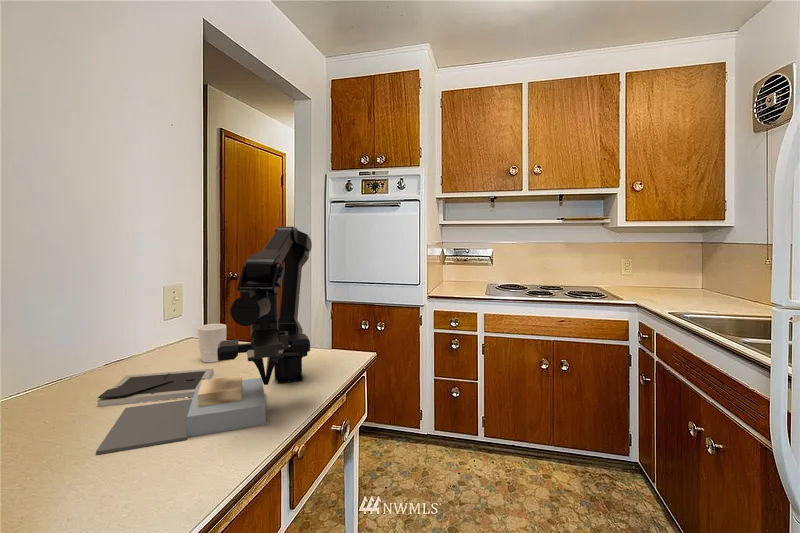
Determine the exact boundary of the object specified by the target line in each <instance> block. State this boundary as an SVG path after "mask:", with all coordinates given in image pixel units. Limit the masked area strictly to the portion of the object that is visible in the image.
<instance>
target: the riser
mask: <svg viewBox="0 0 800 533" xmlns="http://www.w3.org/2000/svg"><path fill="white" fill-rule="evenodd" d="M199 389H200V385H197V387H196V390H195V393H194V396H193V398H191V399H192V402H191V406H190V409H189V412H188V415H187V431H188V438H191V437H196V436H197V437H199V436H203V435H209V434H217V433H220V432H222V433H223V432H228V431H233V430H240V429H246V428H252V427H259V426H263V425H264V426H265V425H267V422H266V420H267V419H266V418H267V417H266V414H267V412H266V399H265V389H264V383H263V381H262V378H261V377H257V378H248V379H247V378H246V379H242V401H236V402H229V403H221V404H214V405H207V406H200V407H198V392H199Z"/></svg>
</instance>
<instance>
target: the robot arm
mask: <svg viewBox="0 0 800 533" xmlns="http://www.w3.org/2000/svg"><path fill="white" fill-rule="evenodd" d="M311 251H312V239H311V238H310V236H309V235H308V234H307V233H305V232H303V231H300V230H299V229H298V228H297V227H294V226H278V227H277V226H276V227H275V230H274V234H273V235H272V237H271V238H270V240H269V241H267V244H266V245H265V247H264V248H263V249H262V250H261V251H259V252H256V253H252V255H250V256H249V257H248V258H247V259H246V261H245V262H244V264H243V265H242V269H241V273H240V276H239V280H238V284H237V288H236V291H237V292H239V297H238V298H236V299H235V300H234V301H233V302H232V304H231V307H230V310H229V312H230V317H231V319H232V320H233V321H234V322H235V323H236V324H237V325H239V326H243V327H250V342H249V343H239V339H231V340H229V339H228V340H227V339H226V341H221V342H220V343H219V345H218V350H217V355H218V361H217V362H223V361H231V360H232V361H233V360H235V359H236V358H237V357H238V356H239V354H242V353H243V354H244V353H246V355H247V362H253V363H254V365H255V366H256V368H257V370H258V373H259V375H260V378H262V381H263V386H268V385H269V383H270V381H271V380H270V379H271V378H272V374H274V380H276V383H277V384H285V383H286V384H287V383H293V382H300V381H303V380H304V377H303V358H304V357H307V356H308V353H309V352H310V351H311V341H310V339H309V336H307V334H305V333H304V332H303V331H304V330H303V328H302V326H301V323H300V322H299V319H298V317H299V316H298V315H299V307H300V305H299V304H300V292H301V281H302V269H303V266H305V264H306V263H307V262H308V260H309V257H310V252H311ZM283 263H284V265H283ZM281 285H282V287H281ZM280 287H281V299H280V307H279V288H280ZM279 308H280V309H279ZM264 358H267V359H266V360H267V361H266V367H265V365H264V364H265V363H264ZM265 368H266V369H265ZM273 370H274V371H273Z"/></svg>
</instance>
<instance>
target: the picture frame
mask: <svg viewBox="0 0 800 533" xmlns="http://www.w3.org/2000/svg"><path fill="white" fill-rule="evenodd" d="M213 375H214V368H204V369H202V368H200V369H191V370H189V369H188V370H179V371H168V372H167V371H165V372H164V371H163V372H154V373H141V374H129V375H125V376H124V377H123V378H121V380H119V381H118V382H117V383H116V384H115V385H114V386H113V387H111V388H109V389H107V390H105V391H104V392H102V394H100V395H99V396H98V397H97V399H98V400H97V408H99V407H101V408H102V407H108V406H119V404H121V405H130V403H131V404H140V402H142V403H149V402H148V401H152V402H160V401H159V400H162V401H168V400H167V399H172V400H178V399H177V398H182V399H186V398H185V397H193V396H194V393H195V390H196V387H197V385H201V382H202V380H208V379H210V378H211V379H212V377H213ZM211 376H212V377H211Z"/></svg>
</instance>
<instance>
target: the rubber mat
mask: <svg viewBox="0 0 800 533" xmlns="http://www.w3.org/2000/svg"><path fill="white" fill-rule="evenodd" d="M192 399H193V398H187V399H182V400H173V401H166V402H160V403H153V404H144V405H136V406H135V405H134V406H129V407H125V408H124V410H122V413H120V415H119V417H118V418H117V419H116V421H115V423H114V424H113V426H112V427H111V429H110V430H109V432H108V433H107V435H106V436H105V437H104V439H103V440H102V441H101V443H100V445H99V446H98V448H97V449H96V450H95V456H98V455H104V454H109V453H110V454H111V453H115V452H116V453H117V452H121V451H123V452H124V451H128V450H134V449H139V448H146V447H152V446H158V444H159V445H164V443H165V444H169V443H170V442H171V443H177V442H181V441H187V440H188V438H189V437H188V431H187V415H188V412H189V409H190V406H191V402H192ZM171 443H170V444H171Z"/></svg>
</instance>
